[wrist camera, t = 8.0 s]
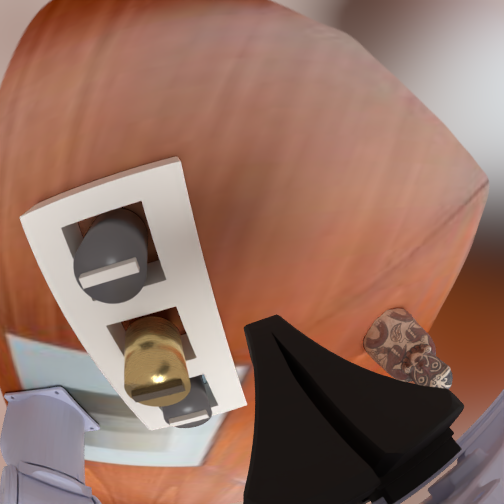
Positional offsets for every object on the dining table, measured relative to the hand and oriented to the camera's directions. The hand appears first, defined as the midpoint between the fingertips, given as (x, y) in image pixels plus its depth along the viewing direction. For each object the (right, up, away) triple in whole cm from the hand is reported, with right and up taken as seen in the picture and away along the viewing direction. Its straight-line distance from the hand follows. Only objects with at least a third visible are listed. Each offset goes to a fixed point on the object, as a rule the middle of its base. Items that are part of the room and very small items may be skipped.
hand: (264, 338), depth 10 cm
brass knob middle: (-7, -3, +8) cm, 11 cm away
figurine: (+16, -6, +21) cm, 28 cm away
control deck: (-8, -2, +10) cm, 13 cm away
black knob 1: (-9, +4, +6) cm, 12 cm away
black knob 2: (-7, -8, +13) cm, 17 cm away
